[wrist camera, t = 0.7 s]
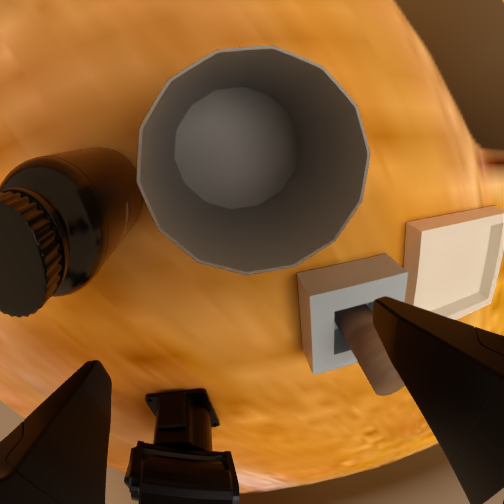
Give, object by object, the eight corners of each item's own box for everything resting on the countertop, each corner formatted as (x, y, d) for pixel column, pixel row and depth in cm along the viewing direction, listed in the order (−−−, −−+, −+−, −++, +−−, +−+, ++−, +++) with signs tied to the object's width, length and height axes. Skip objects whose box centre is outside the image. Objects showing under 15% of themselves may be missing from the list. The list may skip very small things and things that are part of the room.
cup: (292, 83, 18) (360, 48, 8) (303, 198, 21) (369, 254, 12) (165, 98, 17) (121, 68, 8) (183, 215, 20) (161, 287, 11)
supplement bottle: (156, 226, 20) (103, 333, 9) (77, 248, 20) (-8, 347, 9) (131, 132, 18) (32, 140, 7) (50, 163, 17) (-68, 208, 6)
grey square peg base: (379, 327, 27) (396, 349, 24) (302, 348, 26) (313, 374, 23) (386, 253, 24) (408, 271, 20) (296, 273, 23) (309, 296, 20)
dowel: (361, 316, 25) (409, 386, 17) (330, 324, 25) (371, 401, 17) (362, 288, 24) (418, 356, 16) (329, 296, 24) (377, 371, 16)
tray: (479, 293, 28) (490, 303, 26) (396, 325, 27) (407, 339, 25) (494, 205, 23) (509, 212, 21) (406, 222, 23) (421, 231, 21)
